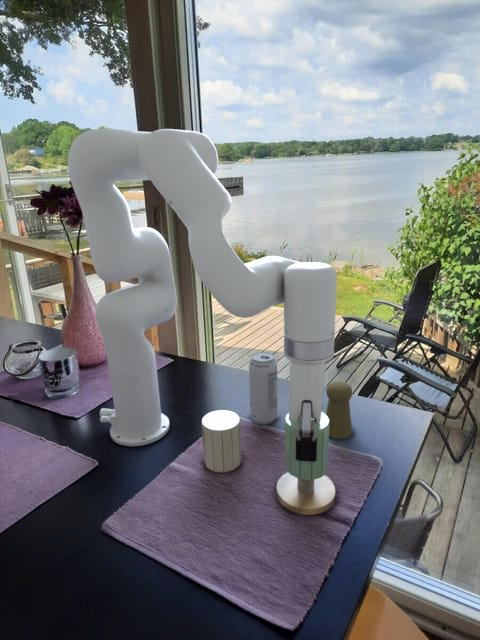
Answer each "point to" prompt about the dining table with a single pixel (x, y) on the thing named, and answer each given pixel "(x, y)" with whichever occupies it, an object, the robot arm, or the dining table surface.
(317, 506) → the disc
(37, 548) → the dining table surface
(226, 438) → the cup
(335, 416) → the olive pawn figure
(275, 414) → the energy drink can
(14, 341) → the dining table surface
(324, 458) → the green grooved cylinder
